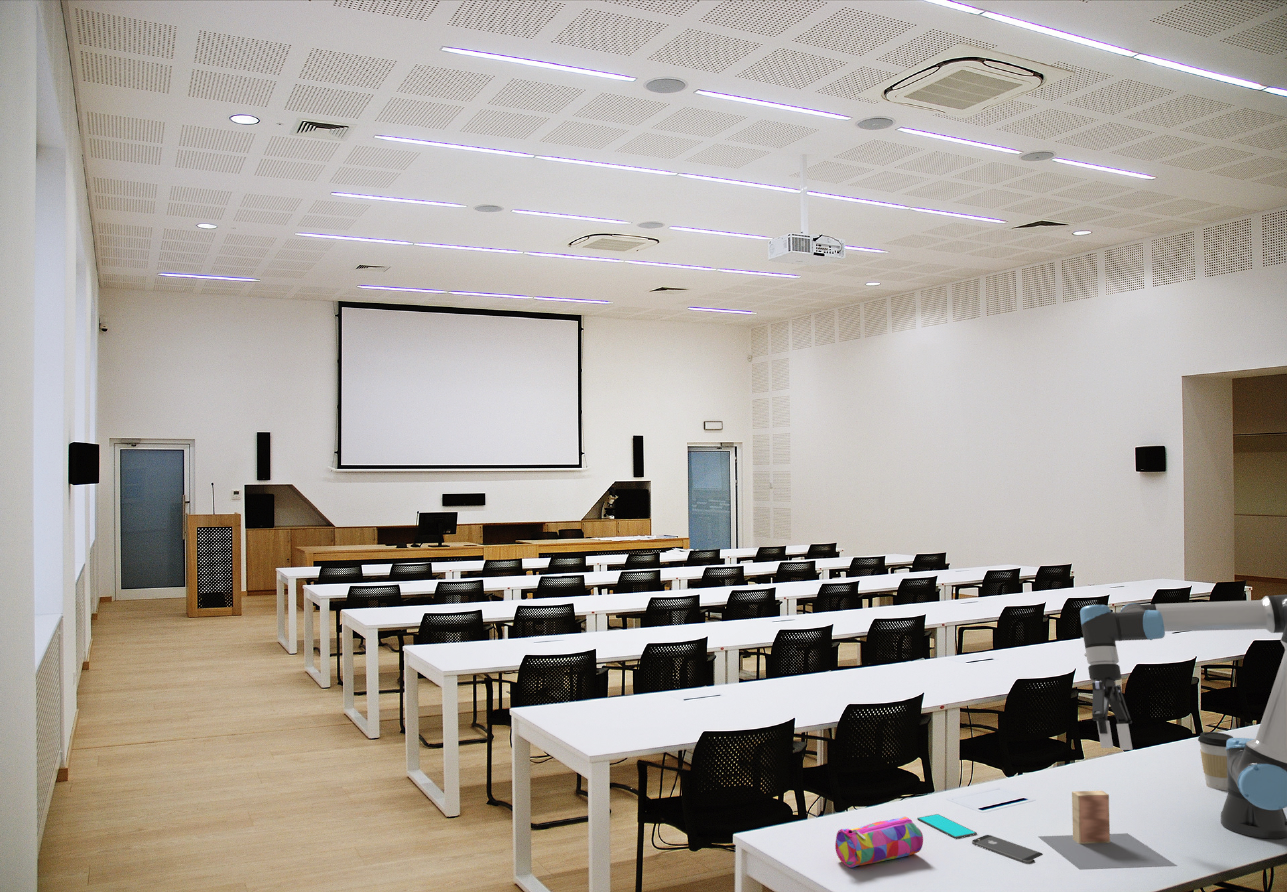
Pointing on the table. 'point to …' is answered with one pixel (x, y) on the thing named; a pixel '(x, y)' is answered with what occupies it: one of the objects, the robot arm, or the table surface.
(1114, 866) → the rubber mat
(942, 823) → the smartphone
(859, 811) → the table surface
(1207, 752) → the coffee cup
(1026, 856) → the phone
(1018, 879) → the table surface
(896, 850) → the pencil case
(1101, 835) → the oak block
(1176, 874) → the table surface
